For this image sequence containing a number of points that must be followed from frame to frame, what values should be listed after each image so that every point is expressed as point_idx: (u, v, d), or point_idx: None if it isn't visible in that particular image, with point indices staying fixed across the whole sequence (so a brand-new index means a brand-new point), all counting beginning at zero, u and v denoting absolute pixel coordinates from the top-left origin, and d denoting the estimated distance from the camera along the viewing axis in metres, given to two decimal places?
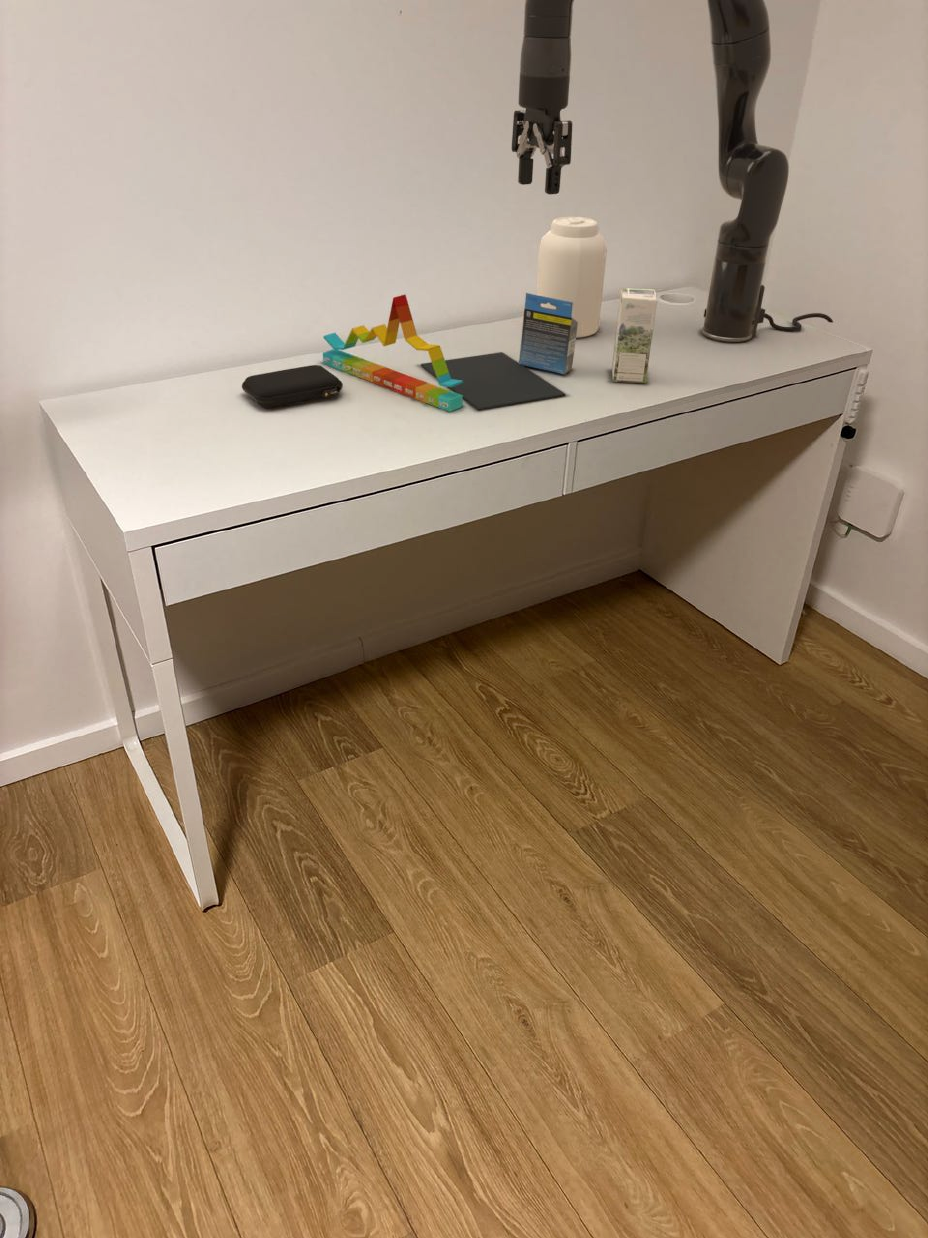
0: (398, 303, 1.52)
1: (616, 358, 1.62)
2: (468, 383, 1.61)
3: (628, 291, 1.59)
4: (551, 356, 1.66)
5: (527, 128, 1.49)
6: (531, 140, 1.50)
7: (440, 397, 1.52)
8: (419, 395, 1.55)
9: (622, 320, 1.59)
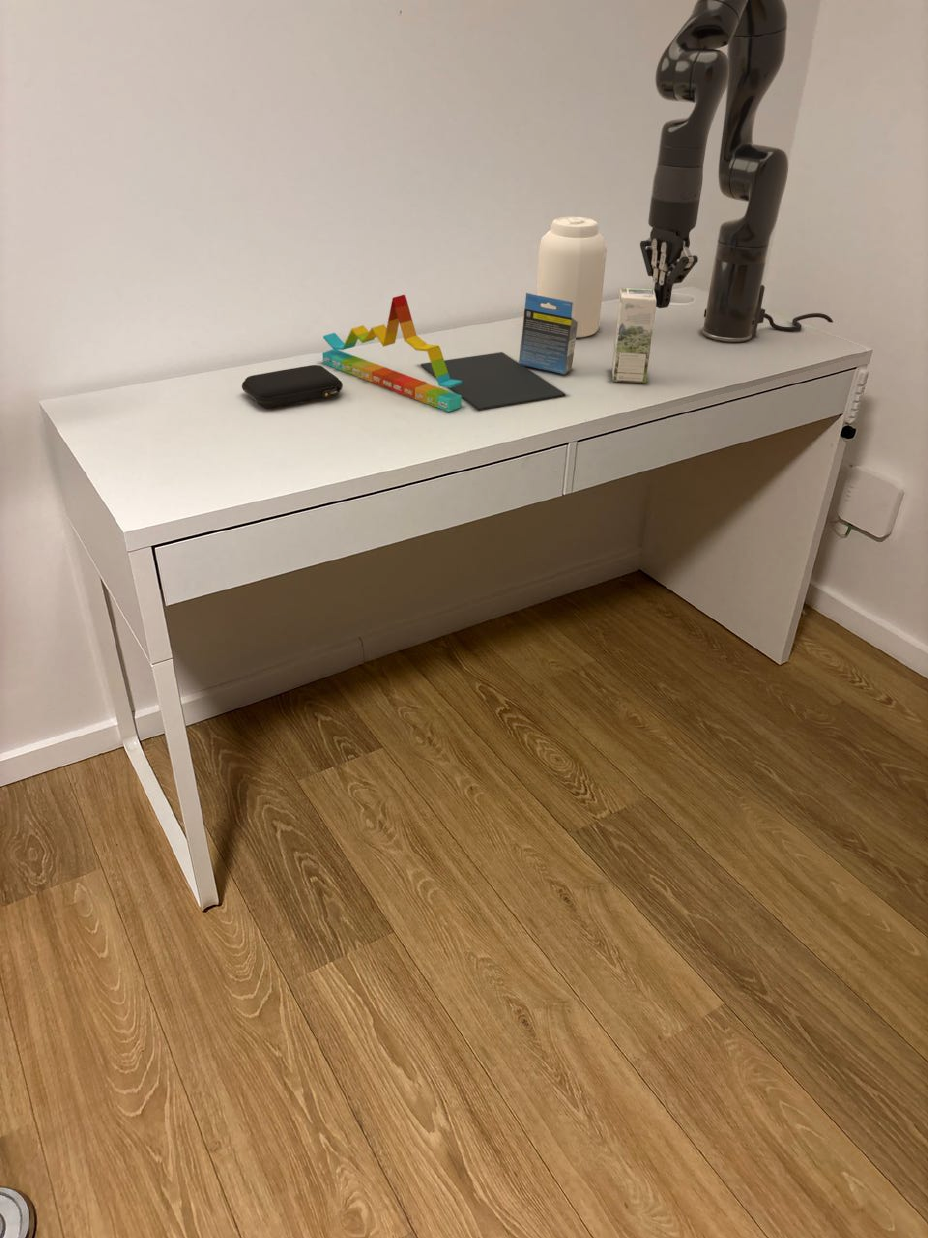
0: (397, 303, 1.52)
1: (616, 358, 1.62)
2: (468, 383, 1.61)
3: (627, 291, 1.59)
4: (551, 356, 1.66)
5: (656, 244, 1.56)
6: None
7: (439, 397, 1.52)
8: (418, 395, 1.55)
9: (622, 320, 1.59)
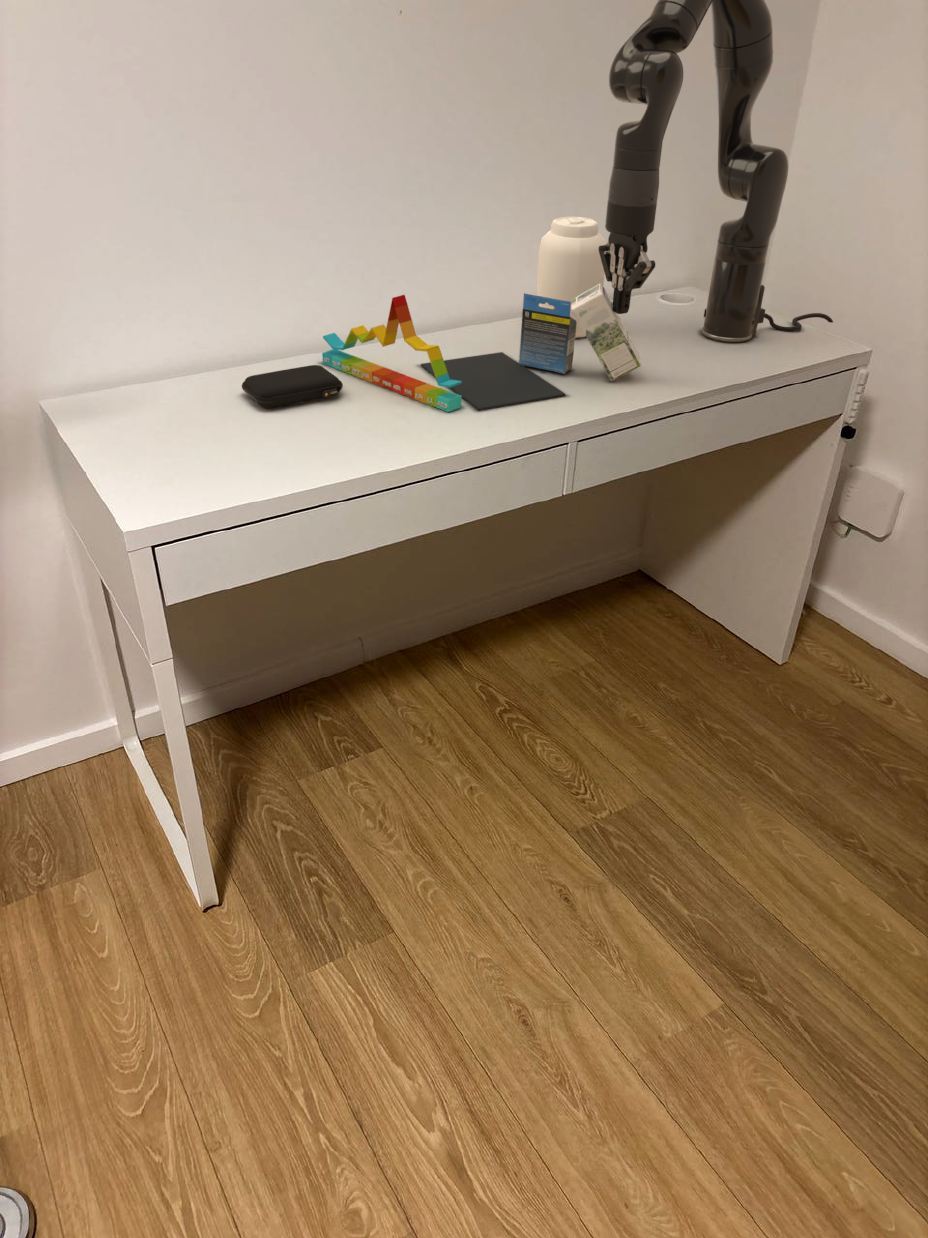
0: (397, 303, 1.51)
1: (601, 361, 1.63)
2: (468, 383, 1.61)
3: (576, 300, 1.60)
4: (550, 355, 1.66)
5: (614, 248, 1.53)
6: None
7: (439, 397, 1.52)
8: (418, 395, 1.55)
9: (584, 328, 1.60)
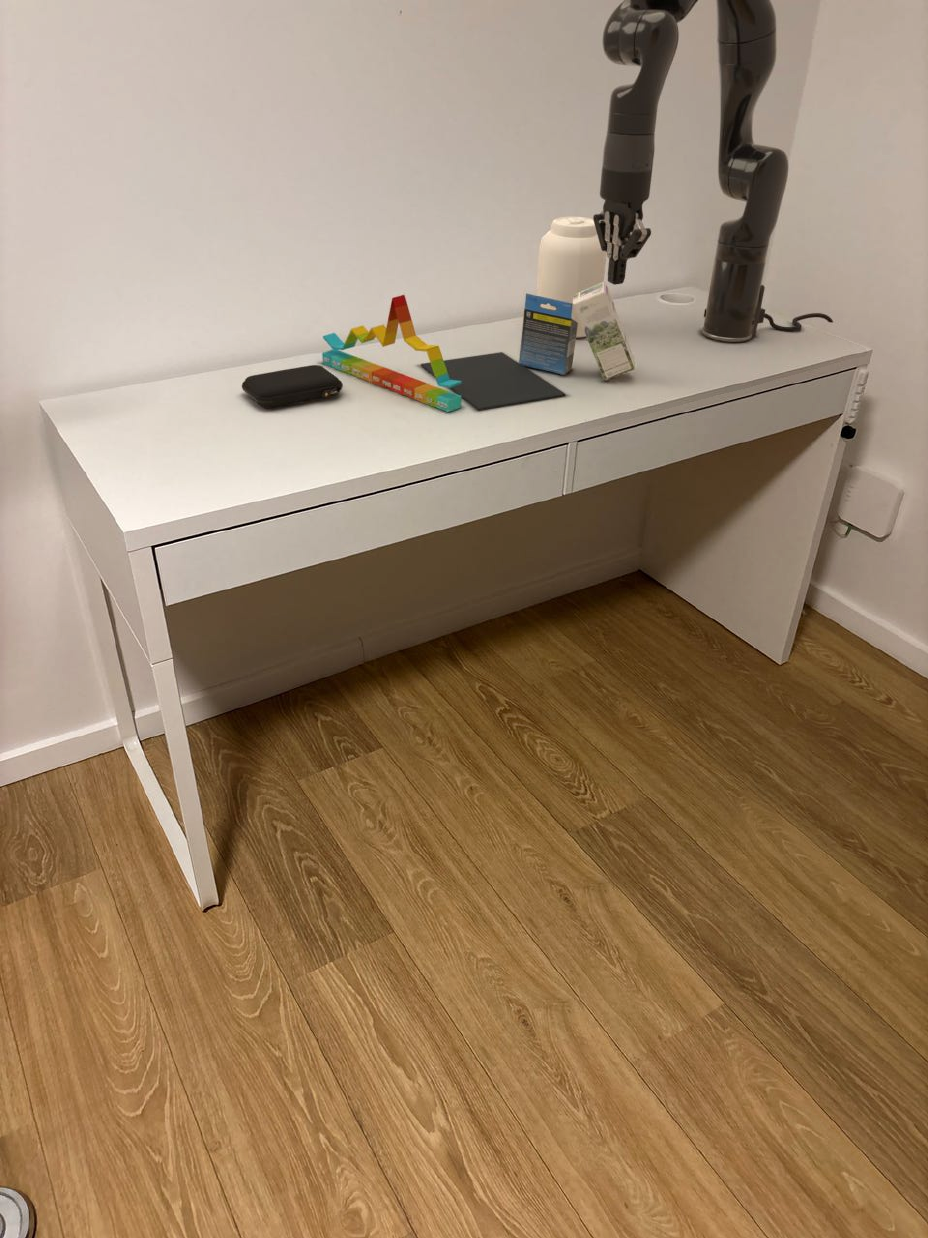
0: (397, 303, 1.51)
1: (596, 359, 1.63)
2: (468, 383, 1.61)
3: (579, 295, 1.60)
4: (550, 356, 1.66)
5: (608, 217, 1.50)
6: None
7: (439, 397, 1.52)
8: (418, 395, 1.55)
9: (583, 323, 1.59)
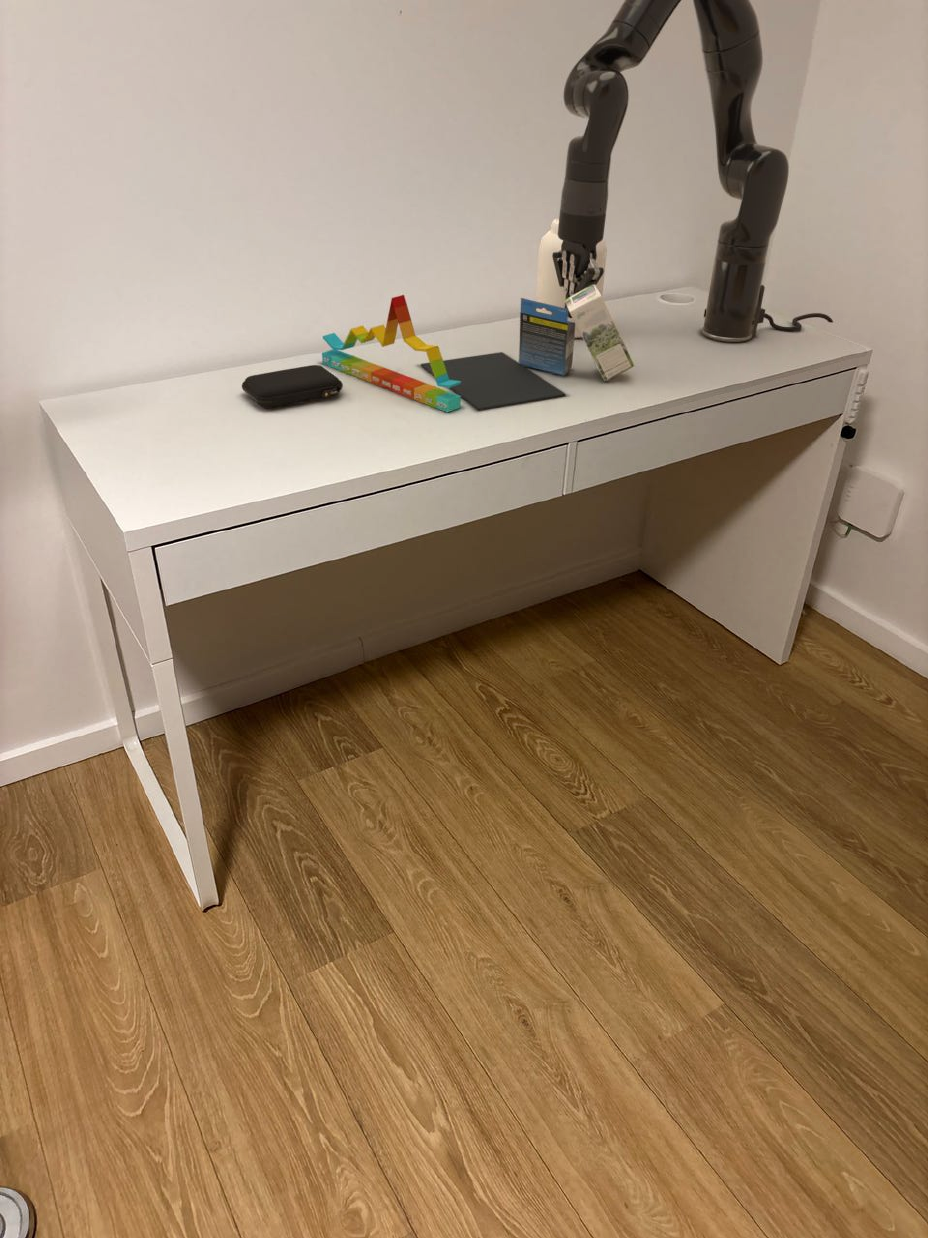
0: (396, 303, 1.51)
1: (596, 362, 1.62)
2: (468, 383, 1.61)
3: (572, 301, 1.58)
4: (549, 358, 1.66)
5: (565, 255, 1.61)
6: None
7: (438, 398, 1.52)
8: (417, 396, 1.55)
9: (581, 329, 1.58)
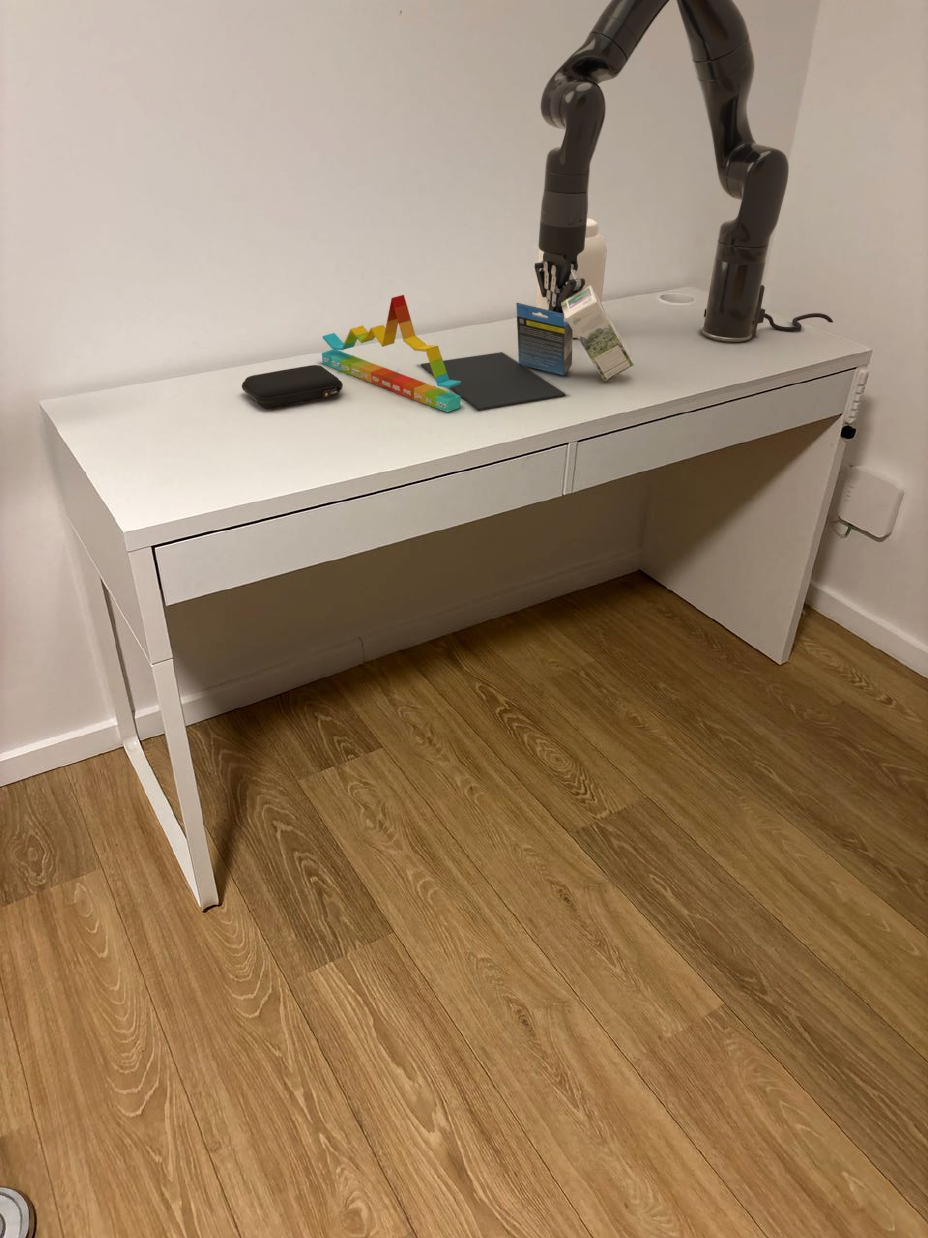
0: (396, 303, 1.51)
1: (594, 364, 1.62)
2: (468, 383, 1.61)
3: (568, 305, 1.57)
4: (548, 359, 1.65)
5: (547, 266, 1.60)
6: None
7: (438, 398, 1.52)
8: (417, 396, 1.55)
9: (578, 334, 1.58)
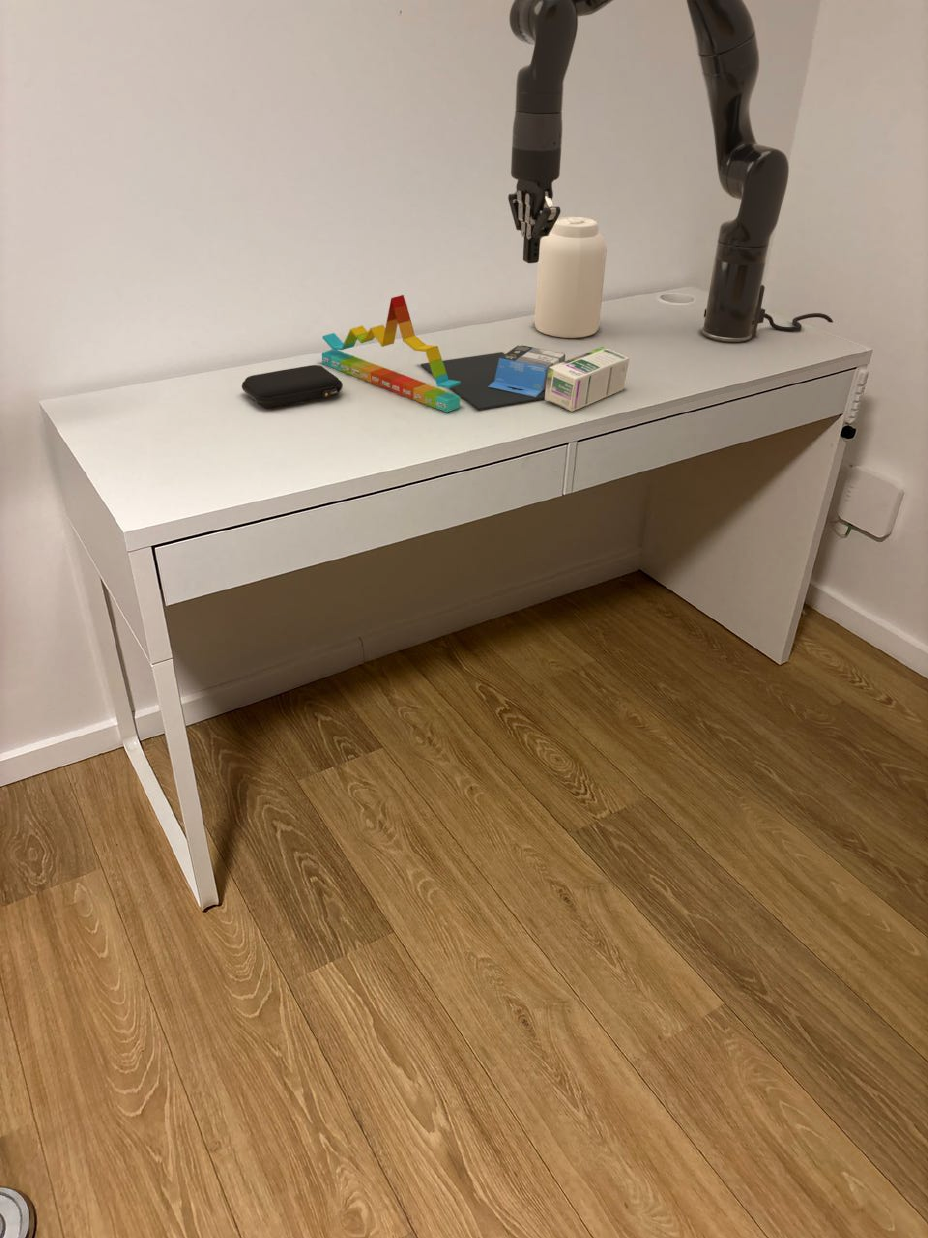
0: (396, 303, 1.51)
1: None
2: (468, 383, 1.61)
3: (551, 384, 1.54)
4: None
5: (520, 196, 1.52)
6: None
7: (437, 398, 1.52)
8: (417, 396, 1.55)
9: None
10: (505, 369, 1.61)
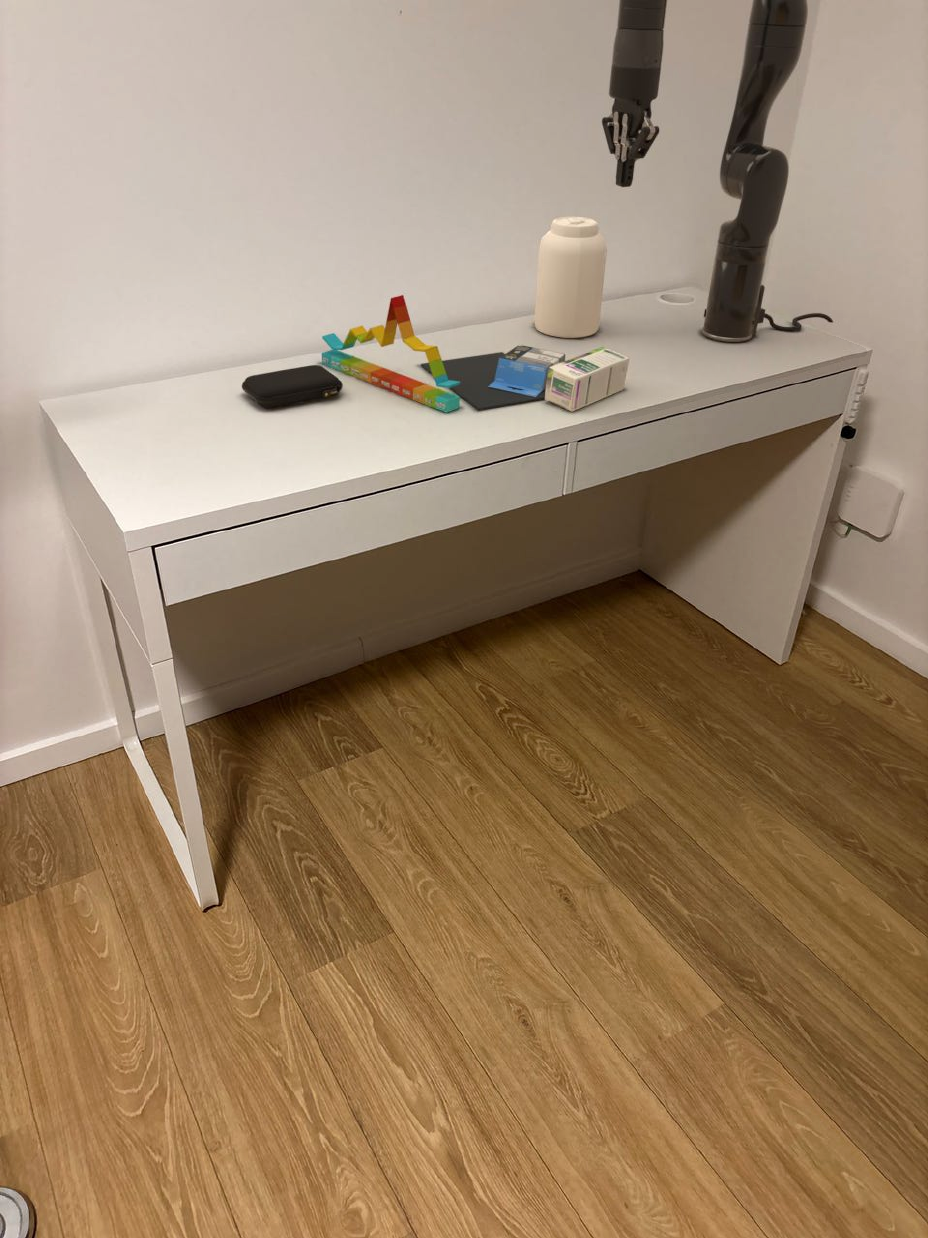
0: (396, 304, 1.51)
1: None
2: (468, 383, 1.61)
3: (551, 384, 1.54)
4: None
5: (617, 117, 1.52)
6: None
7: (437, 398, 1.52)
8: (416, 396, 1.55)
9: None
10: (505, 369, 1.61)
